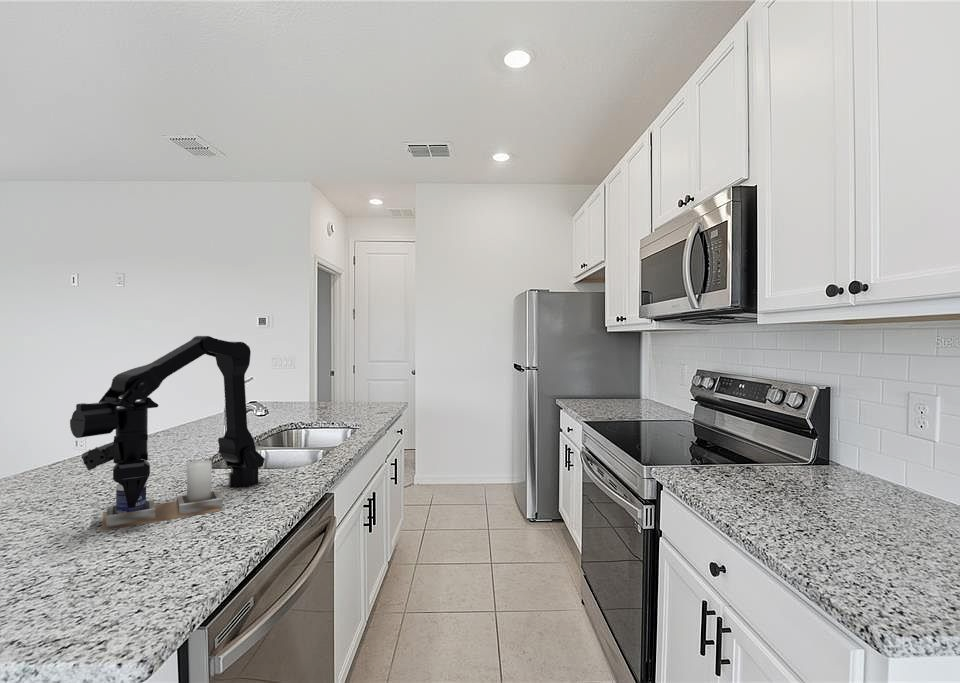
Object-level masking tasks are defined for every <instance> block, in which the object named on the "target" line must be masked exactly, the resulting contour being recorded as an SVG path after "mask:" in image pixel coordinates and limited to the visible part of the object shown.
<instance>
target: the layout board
mask: <svg viewBox="0 0 960 683" xmlns="http://www.w3.org/2000/svg"><path fill="white" fill-rule="evenodd" d="M218 512H223V497H222V496H221V494H220V493H219V491H218V489H213V490H212V489H211V500H204V501H198V502H191V503H187V493H185V494H177V495H176V501H170V502H162V503H157V504H155V499H154V498H151V499H146V510H140V511H133V512H127V513H120V514H116V503H115V504H108V505H107V509H106V511H104V512H103V515H102V516H103V517H102V522H101V528H100V531H101V532H105V531H111V530H112V531H113V530H117V529H122V528H129V527H134V526H141V525H147V524H151V523H156V522H157V523H159V522H164V521H169V520H177V519H181V518H188V517H193V516H200V515H206V514H212V513H218Z"/></svg>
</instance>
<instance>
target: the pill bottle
mask: <svg viewBox="0 0 960 683" xmlns="http://www.w3.org/2000/svg"><path fill="white" fill-rule="evenodd" d="M115 489H116V492H115V504H116V514H120V513H127V512H133V511H140V510H146V500H147V483H146V484H145V486H144V488H143V490H142V492H141V494H140V496H139V499H138V501H137V503H136V505H135V507H133V508H128V504H127V500H126V497H125V493H124V489H123V486H122V485H121V484H119V483H117V484H116V487H115Z"/></svg>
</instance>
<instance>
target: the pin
mask: <svg viewBox="0 0 960 683" xmlns="http://www.w3.org/2000/svg"><path fill="white" fill-rule="evenodd" d="M212 464H213V463H212V460H209V459H208V460H207V459H205V460H196V461H191V462H188V463H187V464H186V494H187V503H191V502H198V501H204V500H211V490H212V477H213V476H212V473H213V472H212V469H213V468H212V466H213V465H212Z"/></svg>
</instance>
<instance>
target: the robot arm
mask: <svg viewBox="0 0 960 683" xmlns="http://www.w3.org/2000/svg"><path fill="white" fill-rule="evenodd" d="M204 355H206V356H210V357H213V358H215V361H216V366H217V368H218V370H219V371H220V372H221V374H222V376H223V387H224V389H223V390H224V405H225V407H224V408H225V421H226V431H225V432H224V433H225V434H224V435H223V437H218V438H217V443H218V450H217V453H218V454H220V457H221V459H223V460H224V462H225V464H226V466H227V467H231V468H230V472H229V473H228V486H229V488H231V489H232V488H233V489H234V488H249V487H253V486H255V485H258V484H259V468H262V467H263V466H264V463H265V458H264V456H262V455H261V454H260V453H259V452H258V451H257V448H256V444H255V440H254V437H253V436H252V434H251V432H250V430H249V429H248V417H247V401H246V400H247V399H246V398H247V397H246V383H245V382H246V380H245V374H246V372H247V371H248V368H249V367H250V364H251V363H250V362H251V348H250V345H248V344H247V343H245V342H243V341H228V340H223V339H218V338H214V337H212V336H210V335H196V336H194V337H192V338H191V340H189V341H187V342H186V343H184V344H182V345H179V346H178V347H176V348H175V349H173V350H171V351H169V352H168V353H166V354H164V355H163V356H160V357H159V358H158V359H155V360H154V361H152V362H150V363H148V364H144V365H140V366H137V367H134V368H131V369H128V370H125V371H123V372H119V373H118V374H117V375H115V376H114V377H113V378H112V379H111V380H112V381H111V384H110V387H109V388H108V389H107V391H106V392H105V393H104V395H103V396H102V397H101V398H100V400H99V401H98V402H93V403H85V402H83V403H77V404H76V406H75V410H74V411H73V413H72V415H71V418H70V420H69V428H70V431H71V433H72V435H73V437H74V438H76V439H81V438H82V439H83V438H88V437H94V436H101V435H102V436H103V435H107V434H108V435H109V434H112V432H113V431H114V430H115V435H114V436H113V441H112V442H110V443H106V444H103V445H100V446H96V447H95V448H93V449H88V451H86V452H84V453H82V454H81V459H82V461H83V465H85V468H86V470H88V471H90V470H94V469H96V468H97V467H99V466H101V465H103V464H106V463H108V462H111V461H113V463H114V466H113V467H112V468H113V470H112V480H113V481H114V482H115V483H117V484H121V485H122V486H123V489H124V493H125V497H126V500H127V504H128V508H133V507H135V505H136V503H137V501H138V499H139V496H140V494H141V492H142V490H143V488H144V486H145V484H146V485H147V482H148V479H149V478H150V474H151V465H150V462H149V452H148V440H149V434H148V430H149V428H148V417H149V416H148V412H149V411H148V410H149V409H152V408H153V409H155V408H158V407H159V404H158V403H156V402H155V401H153V400H152V398H151V397H150V395H151V394H154V392H155V391H156V390H157V389H159V387H160V386H161V385H162V383H163V381H165V380H166V379H167V378H168V377H169V376H172V375H174V373H176V372H178V371H180V370H181V369H183V368H184V367H185V366H187V365H189V364H191V363H193V362H194V361H196V360H197V359H199V358H200V357H202V356H204Z"/></svg>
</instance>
